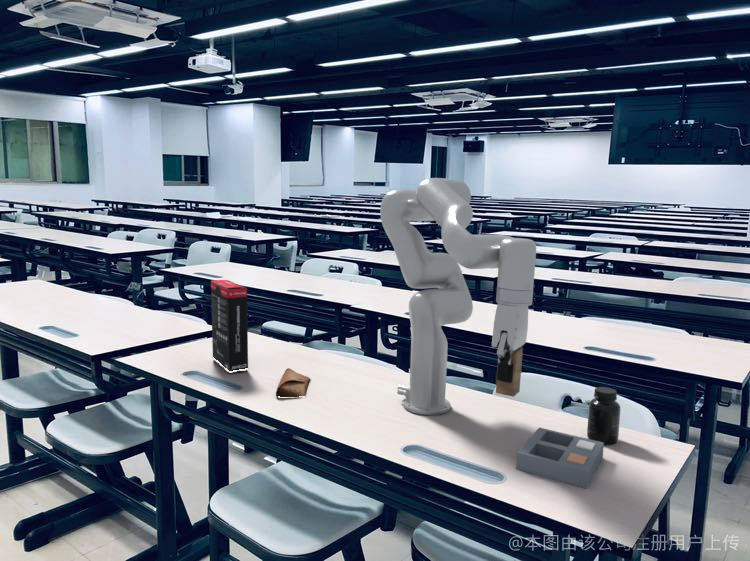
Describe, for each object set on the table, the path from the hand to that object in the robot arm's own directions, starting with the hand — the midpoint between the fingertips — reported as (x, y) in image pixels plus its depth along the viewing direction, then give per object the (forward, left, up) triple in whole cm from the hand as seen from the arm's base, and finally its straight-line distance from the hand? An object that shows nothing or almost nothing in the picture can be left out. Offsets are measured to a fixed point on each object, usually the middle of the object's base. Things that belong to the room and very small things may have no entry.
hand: (508, 377), depth 121 cm
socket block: (+12, 0, -16) cm, 21 cm away
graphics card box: (-94, +7, -17) cm, 95 cm away
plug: (0, 0, -3) cm, 3 cm away
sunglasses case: (-64, +4, -17) cm, 66 cm away
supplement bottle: (+17, +19, -17) cm, 31 cm away
